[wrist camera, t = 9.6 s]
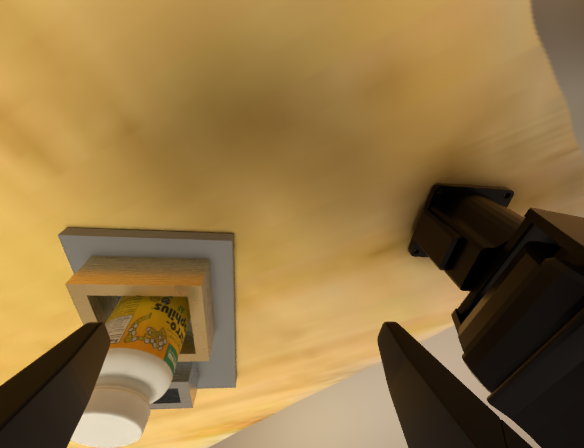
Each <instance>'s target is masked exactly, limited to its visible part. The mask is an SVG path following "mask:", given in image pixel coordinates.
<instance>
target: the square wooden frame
mask: <svg viewBox="0 0 584 448" xmlns="http://www.w3.org/2000/svg"><path fill="white" fill-rule="evenodd" d="M65 285H66V287H67V289H68V291H69V294H70V296H71V298H72V300H73V302H74V305H75V307H76V309H77V311H78V314H79V316H80V318H81V320H82V323H83V325H85V324H86V323H89V322H103V323H104V324H105V323H106V322H107V320H108V318H109V317H110V315H111V314H112V312H113V310H114V309H115V307H116V305H117V304H118V302H119V301H120V297H119V296H188V302H189V309H190V316H191V323H192V324H188V328H187V331H186V334H185V337H184V341H183V344H182V348H181V351H180V354H179V357H178V361H177V362H188V361H209V360H210V355H211V350H212V345H213V340H214V335H215V321H214V308H213V294H212V281H211V268H210V259H201V258H163V257H125V256H91V257H90V258H89V259H88V260H87V261H86V262H85V264H84V265H83V266H82V267H81V268H80V269H79V270H78V271H77V272H76V273H75V274H74V275H73V276H72V277H71V278H70V279H69V281H68V282H67V283H66V284H65Z"/></svg>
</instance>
